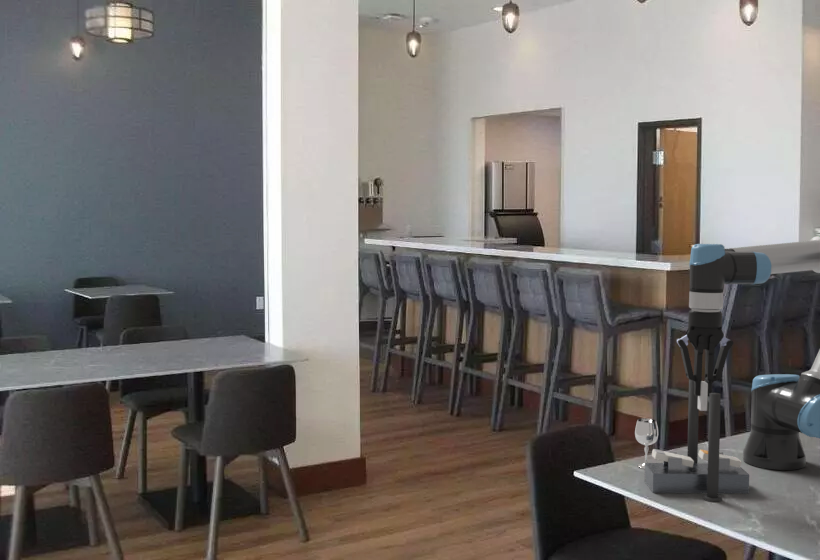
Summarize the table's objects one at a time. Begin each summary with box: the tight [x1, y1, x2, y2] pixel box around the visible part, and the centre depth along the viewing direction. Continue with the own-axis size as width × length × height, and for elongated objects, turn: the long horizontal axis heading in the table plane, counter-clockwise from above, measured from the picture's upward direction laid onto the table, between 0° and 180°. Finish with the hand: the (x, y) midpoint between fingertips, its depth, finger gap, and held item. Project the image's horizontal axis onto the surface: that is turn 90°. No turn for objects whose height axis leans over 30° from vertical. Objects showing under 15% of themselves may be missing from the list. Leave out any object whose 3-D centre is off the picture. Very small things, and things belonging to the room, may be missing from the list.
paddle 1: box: [651, 448, 694, 467], centre depth 215 cm, size 9×4×2 cm, turn 88°
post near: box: [702, 392, 723, 503], centre depth 205 cm, size 4×4×24 cm
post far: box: [686, 379, 700, 463], centre depth 223 cm, size 4×4×24 cm
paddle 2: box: [698, 449, 742, 468], centre depth 214 cm, size 9×4×2 cm, turn 88°
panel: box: [644, 451, 750, 495], centre depth 215 cm, size 22×9×8 cm, turn 87°
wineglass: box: [634, 418, 659, 470], centre depth 232 cm, size 6×6×12 cm
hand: (702, 409), depth 213 cm, fingers closed
